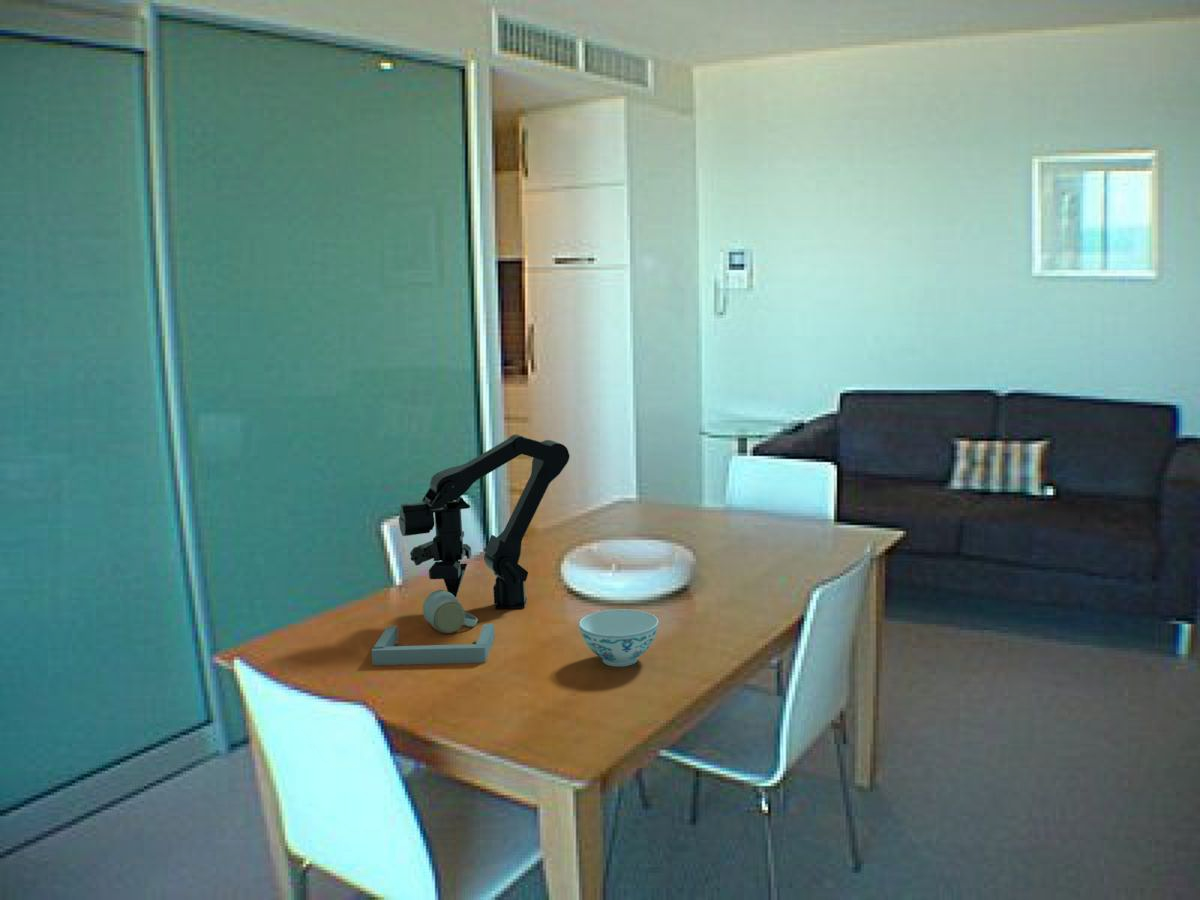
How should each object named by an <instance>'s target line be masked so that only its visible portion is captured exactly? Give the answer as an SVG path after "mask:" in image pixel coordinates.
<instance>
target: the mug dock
mask: <svg viewBox="0 0 1200 900" xmlns="http://www.w3.org/2000/svg"><path fill="white" fill-rule="evenodd" d="M495 638H496V633H495V623H484V624H483V626H482V629H481V631H480V634H479V635H478V638H477V640H476V642H475V644H473V643H472V644H470V643H469V644H438V645H434V644H432V645H431V644H430V645H428V644H427V645H398V646H396V645H397V643H398V642H399V628H398V625H388V626H387V627H386V628H385V630H384V631H383V633H382V634H381V635H380V637H379V638H378V640H377V641H376V643H375V644H374V646H373V647H372V649H371V663H372V666H395V665H396V666H397V665H398V666H399V664H401V665H402V664H403V665H404V666H405V665H430V664H431V665H434V664H435V665H436V664H468V663H469V664H472V663H473V664H477V663H478V664H481V663H487V662H486V661H487V660H488V657H489V654H490V651H491V649H492V647H493V644H494V641H495ZM397 641H398V642H397ZM396 642H397V643H396ZM492 643H493V644H492ZM395 644H396V645H395Z"/></svg>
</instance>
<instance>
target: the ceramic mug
mask: <svg viewBox="0 0 1200 900" xmlns="http://www.w3.org/2000/svg"><path fill="white" fill-rule="evenodd" d="M422 613H423V616H424V619H426V621H427V622H428V623H429V624H430V625H431V626H432V627H433V628H434V629H435V630H437V631H438V632H440V633H443V634H447V635H449V634H454V633H456V632H458V631H459V630H460V629H461V628H462V627H463V626H467V627H472V628H474V627H476V626H477V623H478V618H477V617H476V616H475V615H473V614H471V613H469V612H468V611H465V609H464V606H463V605H462V604H461V602H460V601H459V600H458V599H457V597H456V598H455V596H454V595H453V594H452V593H450V592H448V590H444V589H443V590H441V589H438V590H435V591H433V592H431V593H429V594H428V596H427V597H426V598H425V599H424V602H423V605H422Z"/></svg>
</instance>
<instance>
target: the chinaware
mask: <svg viewBox="0 0 1200 900" xmlns="http://www.w3.org/2000/svg"><path fill="white" fill-rule="evenodd" d="M578 624H579V630H580V633H581V636H582V639H583V641H584V642H585V645H586V646H587V647H588V649H590V651H591V652H593V654H595V655H596V656H597V657H599V658H601V659H602V662H603V664H605V665H607V666H610V667H627V666H631V665H634V664H635V663H637V662H638V658H639V657H641V656H642V655H643V654H644V653H645V652H646V651H647V650H648V649H649V648H650V646H651V645H652V644H653V642H654V640H655V637H656V635H657V631H658V627H659V619H658V617H656V616H655V615H653V613H649V612H646V611H642V610H638V609H627V608H624V609H622V608H621V609H608V610H607V609H606V610H600V611H596V612H593V613H590V614H588V615H585V616H584V617H582V618H581V619H580V620H579V623H578Z"/></svg>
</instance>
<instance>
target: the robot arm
mask: <svg viewBox="0 0 1200 900" xmlns="http://www.w3.org/2000/svg"><path fill="white" fill-rule="evenodd" d="M521 455H524V456H526V457H530V458H532V462H531V471H530V472H531V473H530V476H529V478H528V480H527V482H526V484H525V486H524V488H523V490H522V493H521V494H520V496H519V499H518V500H517V503H516V505H515V507H514V509H513V511H512V513H511V515H510V517H509V520H508V521H507V523H506V525H505V528H504V529H503V531H502V532H501V533H499V535H498V536H495V535H493V534H491V535H490V537H489V540H488V544H487V545H486V547H484V549H483V552H484V555H483V560H484V563H485V565H486V567H487V568H488V569H490V570H491V571H492V572H493V575H494V576H496V578H495V582H494V584H493V603H494V605H495V609H496V610H497V609H498V610H500V609H524V608H525V607H526V604H527V601H528V597H527V596H526V581H527V578H528V576H529V572H528V570H526V569H525V568H524V567H523V566H521V565H520V564H519V561H520V557H521V554H522V542H523V540H524V536H525V535H526V533H527V531H528V528H529V527H530V525H531V523H532V520H533V519H534V516H535V515H536V512H537V510H538V508H539V506H540V504H541V502H542V499H543V497H544V495H545V494H546V492H547V490H548V487H549V485H550V484H551V483H552V482H553V481H554V480H555V479H556V478H557V477H558V476H559V475H560V474H561V473H562V472H563V470H564V468H565V467H566V466H567V464H568V463H569V461H570V456H571V455H570V453H569V450H568V448H567V446H565V445H564V444H563V443H560V442H557V441H554V440H551V439H545V440H542V441H538V440H536V439H531V438H527V437H525V436H523V435H520V434H517V433H516V434H513V435H512V434H511V436H510V437H508V438H507V439H506V440H504V441H502V442H500V443H498V444H497V445H495V446H493V447H492V448H490V449H489V450H486V451H485V452H483V453H482V454H480V455H478V456H476V457H474V458H473V459H470V461H468V462H466V463H463V464H461V465H456V466H453V467H452V466H451V467H449V468H445V469H444V470H443V469H442V470H441V471H439V472H436V473H435V474H433V476H432V477H431V480H430V483H429V485H430V487H429V488H428V490H427V491H426V493H425V494H424V496H423V498H422V500H421V502H418V503H417V502H416V503H401V504H400V510H399V516H398V525H399V529H400V530H399V531H400V534H401V536H402V537H406V536H407V537H409V536H414V535H415V536H416V535H423V534H430V532H431V531H432V530H433V529H434V527H435V536H434V537H433V538H432V540H430V541H428V542H425V543H422V544H419V545H417V546H414V547H413V548H412V550H410V551H409V553H410V561H412V562H414V565H415V566H419V565H421V564H422V563H425V562H427V561H429V560H432V559H433V562H434V563H433V564H432V565H431V566H430V568H429V569H428V575H429V576H428V577H429V580H443V582H444V584H445V586H446V587H445V588H446V591H448V592H450V593H452V594H453V595H454V596H455V598H456V599H457V597H458V593H459V590H460V587H461V584H462V582H463V578H464V575H465V573H466V571H467V569H466V568H467V566H468V564H467V563H461V562H462V560H463V559H464V557H465V556H466V559H471V557H472V555H473V554H472V548H471V546H470V545H469V544H467V543H464V540H463V538H465V531H463V525H462V523H463V521H462V510H465V509H466V510H467V509H470V508H471V505H470V504H469V503H467V502H466V501H465V499H464V498H463V497H462V496H463V495H464V494H466V492H468V491H469V490H470V489H471V487H472V486H473V484H475V482H477V481H478V480H480V479H481V478H483V477H485V476H486V475H488V474H490V473H492V472H493V471H494V470H497V469H499V468H500V467H502V466H504V465H505V464H507V463H509V462H510V461H512V460H513V459H515V458H517V457H519V456H521Z"/></svg>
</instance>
